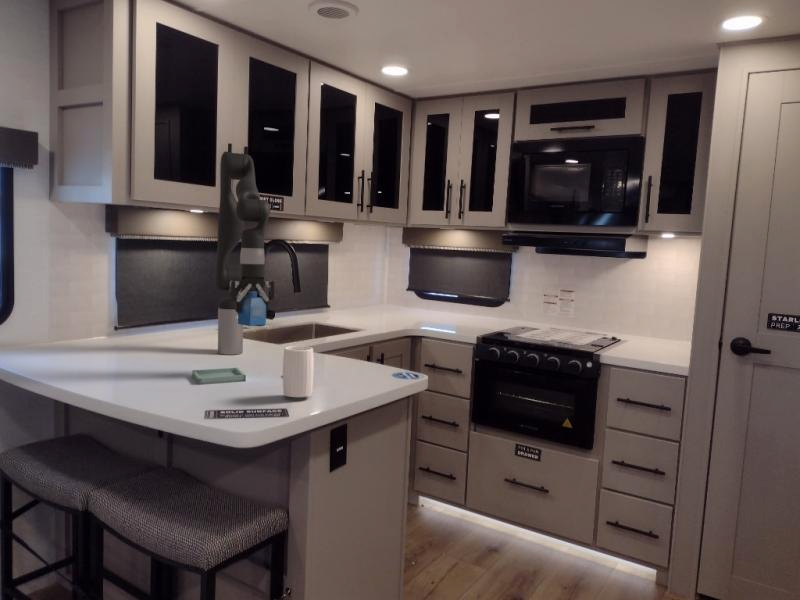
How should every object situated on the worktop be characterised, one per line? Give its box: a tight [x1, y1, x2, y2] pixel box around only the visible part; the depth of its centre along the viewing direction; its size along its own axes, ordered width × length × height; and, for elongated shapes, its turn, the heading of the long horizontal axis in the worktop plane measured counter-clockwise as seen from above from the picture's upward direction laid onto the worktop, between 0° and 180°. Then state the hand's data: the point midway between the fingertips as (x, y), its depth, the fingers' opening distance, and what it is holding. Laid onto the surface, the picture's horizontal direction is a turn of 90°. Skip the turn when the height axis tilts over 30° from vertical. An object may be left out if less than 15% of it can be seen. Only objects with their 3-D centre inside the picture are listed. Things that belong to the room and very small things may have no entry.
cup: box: [282, 345, 315, 398], centre depth 167 cm, size 8×8×14 cm
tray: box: [191, 367, 247, 386], centre depth 187 cm, size 12×14×2 cm
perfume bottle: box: [238, 287, 267, 327], centre depth 192 cm, size 6×6×12 cm
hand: (251, 313), depth 192 cm, fingers closed on perfume bottle, 8 cm apart
